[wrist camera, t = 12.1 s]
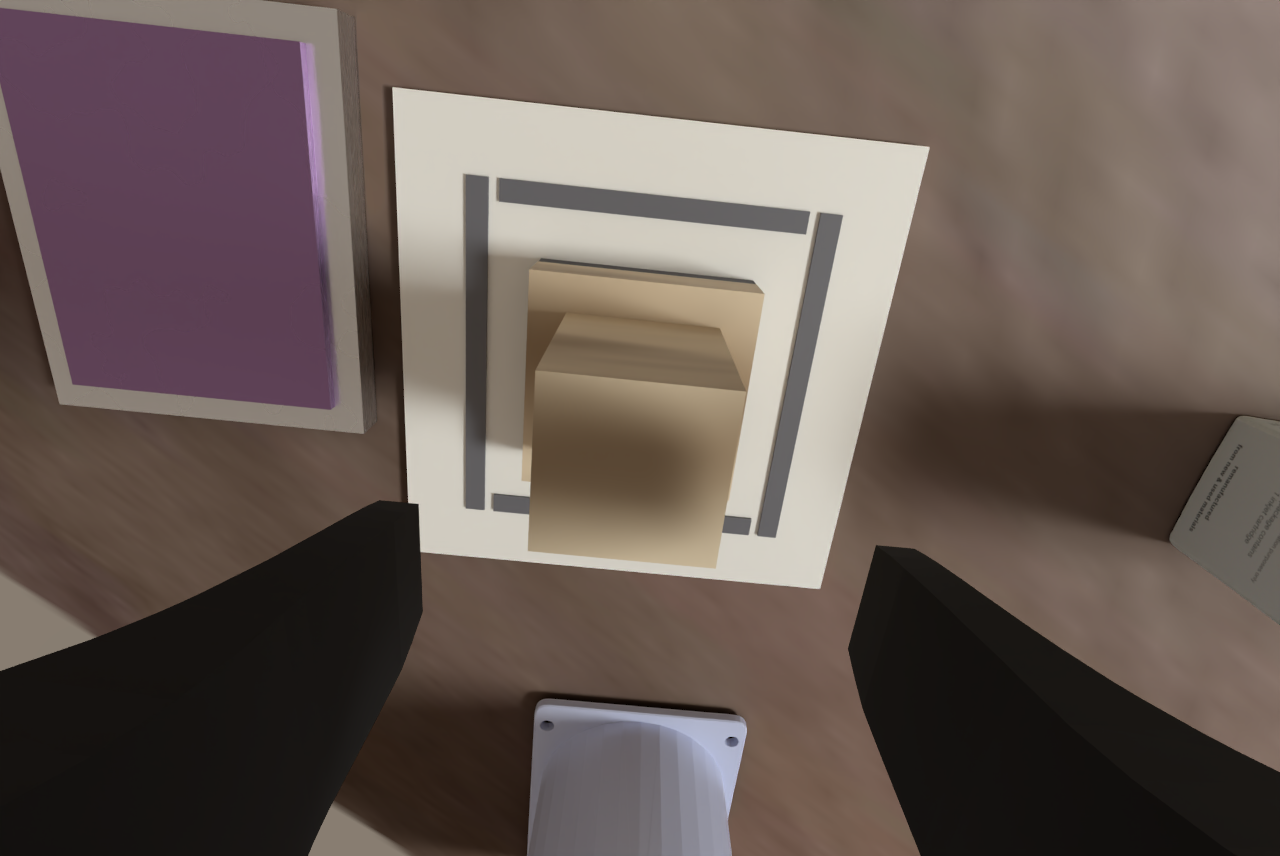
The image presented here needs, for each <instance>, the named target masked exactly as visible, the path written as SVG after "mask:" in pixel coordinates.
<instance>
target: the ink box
mask: <svg viewBox="0 0 1280 856" xmlns="http://www.w3.org/2000/svg"><path fill="white" fill-rule="evenodd" d="M1169 539H1170V542H1171V544H1172V545H1173V546H1174V547H1175V548H1177V549H1178V550H1179V551H1181V552H1182V553H1184V554H1185V555H1186V556H1188V557H1189V558H1190V559H1192V560H1193V561H1194V562H1196V563H1197V564H1198V565H1200V566H1201V567H1202V568H1204V569H1205V570H1206V571H1208V572H1209V573H1211V574H1212V575H1213V576H1215V577H1216V578H1217V579H1219V580H1220V581H1221V582H1223V583H1224V584H1226V585H1227V586H1228V587H1230V588H1231V589H1232V590H1234V591H1235V592H1236V593H1238V594H1239V595H1240V596H1242V597H1243V598H1244V599H1246V600H1247V601H1248V602H1250V603H1251V604H1252V605H1254V606H1255V607H1256V608H1258V609H1259V610H1260V611H1261V612H1263V613H1264V614H1265V615H1267V616H1268V617H1269V618H1271V619H1272V620H1273V621H1275V622H1276V623H1277V624H1279V625H1280V421H1274V420H1268V419H1262V418H1256V417H1250V416H1239V417H1237V418H1236V420H1235V422H1234V423H1233V425H1232V426H1231V428H1230V429H1229V431H1228V433H1227V434H1226V436H1225V438H1224V440H1223V441H1222V443H1221V444H1220V446H1219V448H1218V449H1217V451H1216V453H1215V454H1214V456H1213V458H1212V459H1211V461H1210V463H1209V465H1208V466H1207V468H1206V470H1205V472H1204V474H1203V475H1202V477H1201V479H1200V481H1199V483H1198V484H1197V486H1196V488H1195V489H1194V491H1193V493H1192V495H1191V496H1190V498H1189V500H1188V502H1187V504H1186V506H1185V508H1184V510H1183V511H1182V514H1181V516H1180V517H1179V519H1178V521H1177V523H1176V525H1175V527H1174V529H1173V531H1172V532H1171V534H1170V538H1169Z"/></svg>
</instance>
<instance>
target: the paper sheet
mask: <svg viewBox="0 0 1280 856" xmlns="http://www.w3.org/2000/svg"><path fill="white" fill-rule="evenodd" d="M392 90H393V116H394V142H395V168H396V195H397V221H398V247H399V274H400V300H401V326H402V353H403V379H404V405H405V432H406V458H407V484H408V503H414V504H419V527H420V552H427V553H438V554H449V555H460V556H470V557H481V558H492V559H503V560H513V561H524V562H535V563H546V564H556V565H567V566H578V567H589V568H599V569H610V570H621V571H632V572H642V573H653V574H664V575H675V576H685V577H696V578H707V579H718V580H728V581H739V582H750V583H761V584H771V585H782V586H793V587H804V588H814V589H820V587H821V583H822V579H823V575H824V571H825V567H826V563H827V559H828V555H829V551H830V547H831V543H832V539H833V535H834V531H835V527H836V523H837V519H838V515H839V510H840V506H841V502H842V498H843V494H844V490H845V486H846V482H847V478H848V474H849V470H850V466H851V462H852V458H853V454H854V450H855V446H856V442H857V438H858V434H859V430H860V426H861V422H862V418H863V414H864V410H865V406H866V402H867V398H868V394H869V390H870V386H871V382H872V377H873V373H874V369H875V365H876V361H877V357H878V353H879V349H880V345H881V341H882V337H883V333H884V329H885V325H886V321H887V317H888V313H889V309H890V305H891V301H892V297H893V293H894V289H895V285H896V281H897V277H898V273H899V269H900V265H901V261H902V257H903V253H904V248H905V244H906V240H907V236H908V232H909V228H910V224H911V220H912V216H913V212H914V208H915V204H916V200H917V196H918V192H919V188H920V184H921V180H922V176H923V172H924V168H925V164H926V160H927V156H928V152H929V148H930V147H925V146H916V145H907V144H898V143H889V142H880V141H871V140H862V139H853V138H844V137H835V136H826V135H817V134H808V133H799V132H790V131H781V130H772V129H763V128H754V127H745V126H736V125H727V124H718V123H709V122H700V121H691V120H682V119H673V118H664V117H655V116H646V115H637V114H628V113H619V112H610V111H601V110H592V109H584V108H575V107H566V106H557V105H548V104H539V103H530V102H521V101H512V100H503V99H494V98H485V97H476V96H467V95H458V94H449V93H440V92H431V91H422V90H413V89H404V88H395V87H392ZM541 258H544V259H554V260H563V261H573V262H582V263H592V264H601V265H611V266H620V267H630V268H639V269H649V270H659V271H668V272H678V273H687V274H697V275H706V276H716V277H725V278H735V279H744V280H753V281H754V282H755V283H756V284H757V285H758V287H759V288H760V289H761V290H762V291H763V293H764V294H765V295H764V301H763V307H762V313H761V318H760V324H759V330H758V336H757V341H756V347H755V353H754V359H753V364H752V370H751V376H750V382H749V387H748V393H747V399H746V405H745V411H744V416H743V422H742V428H741V434H740V439H739V445H738V451H737V457H736V462H735V468H734V474H733V480H732V485H731V491H730V497H729V501H727V506H726V512H725V518H724V524H723V529H722V535H721V541H720V547H719V553H718V558H717V564H716V569H714V568H703V567H692V566H682V565H671V564H660V563H650V562H639V561H628V560H617V559H607V558H596V557H585V556H575V555H564V554H553V553H543V552H532V551H528V531H529V507H530V483H531V482H528V481H522V453H523V425H524V398H525V370H526V343H527V315H528V288H529V269H530V268H531V267H532V266H533V265H534V264H535V263H537V262H538V261H539V260H540V259H541Z"/></svg>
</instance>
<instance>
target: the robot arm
mask: <svg viewBox="0 0 1280 856" xmlns="http://www.w3.org/2000/svg"><path fill="white" fill-rule="evenodd" d="M422 612H423V609H422V582H421V554H420V527H419V504H414V503H403V502H392V501H381V500H379V501H377V502H375V503H373V504H370V505H368V506H366V507H364V508H362V509H360V510H358V511H356V512H355V513H353V514H351V515H349V516H347V517H345V518H343V519H342V520H340V521H338V522H336V523H334V524H333V525H331V526H329V527H327V528H325V529H324V530H322V531H320V532H318V533H316V534H315V535H313V536H311V537H309V538H307V539H305V540H304V541H302V542H300V543H298V544H296V545H294V546H293V547H291V548H289V549H287V550H285V551H283V552H282V553H280V554H278V555H276V556H274V557H272V558H271V559H269V560H267V561H265V562H263V563H261V564H259V565H257V566H255V567H253V568H251V569H249V570H247V571H245V572H243V573H241V574H239V575H237V576H235V577H233V578H231V579H229V580H227V581H225V582H223V583H221V584H219V585H217V586H215V587H213V588H211V589H209V590H207V591H205V592H203V593H200V594H198V595H196V596H194V597H192V598H190V599H187V600H185V601H183V602H181V603H179V604H176V605H174V606H172V607H170V608H167V609H165V610H163V611H160V612H158V613H156V614H153V615H151V616H149V617H146V618H144V619H141V620H139V621H136V622H134V623H131V624H129V625H126V626H124V627H122V628H119V629H117V630H114V631H112V632H109V633H107V634H104V635H101V636H99V637H96V638H94V639H91V640H88V641H86V642H83V643H80V644H77V645H74V646H71V647H68V648H66V649H63V650H60V651H57V652H54V653H51V654H48V655H45V656H42V657H40V658H37V659H34V660H31V661H28V662H25V663H22V664H19V665H17V666H14V667H11V668H8V669H5V670H2V671H0V856H308V854H309V852H310V850H311V847H312V845H313V842H314V840H315V838H316V836H317V834H318V831H319V829H320V827H321V825H322V823H323V821H324V819H325V817H326V815H327V812H328V810H329V808H330V806H331V804H332V803H333V801H334V799H335V797H336V795H337V793H338V791H339V789H340V787H341V785H342V783H343V782H344V780H345V778H346V776H347V774H348V772H349V770H350V768H351V766H352V764H353V762H354V761H355V759H356V757H357V755H358V753H359V751H360V749H361V747H362V745H363V743H364V742H365V740H366V738H367V736H368V734H369V732H370V730H371V728H372V726H373V724H374V722H375V721H376V719H377V717H378V715H379V713H380V711H381V709H382V707H383V705H384V703H385V701H386V699H387V697H388V695H389V693H390V692H391V690H392V688H393V686H394V684H395V682H396V680H397V678H398V676H399V674H400V672H401V670H402V667H403V665H404V662H405V659H406V657H407V654H408V651H409V649H410V646H411V644H412V641H413V638H414V635H415V632H416V629H417V626H418V624H419V621H420V618H421V615H422ZM848 651H849V655H850V660H851V664H852V668H853V673H854V677H855V681H856V685H857V689H858V693H859V696H860V700H861V704H862V708H863V711H864V713H865V716H866V719H867V721H868V724H869V727H870V729H871V732H872V734H873V737H874V739H875V742H876V745H877V747H878V750H879V752H880V755H881V757H882V760H883V762H884V765H885V767H886V770H887V772H888V775H889V777H890V780H891V782H892V785H893V787H894V790H895V792H896V795H897V797H898V800H899V802H900V805H901V807H902V810H903V812H904V815H905V817H906V820H907V822H908V825H909V827H910V830H911V832H912V835H913V837H914V840H915V842H916V845H917V847H918V850H919V852H920V855H921V856H1280V772H1278V771H1276V770H1274V769H1272V768H1270V767H1268V766H1266V765H1264V764H1262V763H1260V762H1258V761H1256V760H1254V759H1252V758H1250V757H1248V756H1246V755H1244V754H1242V753H1240V752H1238V751H1236V750H1234V749H1232V748H1230V747H1228V746H1226V745H1224V744H1222V743H1221V742H1219V741H1217V740H1215V739H1213V738H1211V737H1209V736H1207V735H1205V734H1203V733H1202V732H1200V731H1198V730H1196V729H1194V728H1192V727H1191V726H1189V725H1187V724H1185V723H1184V722H1182V721H1180V720H1178V719H1177V718H1175V717H1173V716H1171V715H1169V714H1168V713H1166V712H1164V711H1162V710H1161V709H1159V708H1157V707H1155V706H1153V705H1152V704H1150V703H1148V702H1146V701H1145V700H1143V699H1141V698H1139V697H1138V696H1136V695H1134V694H1133V693H1131V692H1129V691H1128V690H1126V689H1124V688H1123V687H1121V686H1119V685H1118V684H1116V683H1114V682H1113V681H1111V680H1109V679H1108V678H1106V677H1105V676H1103V675H1102V674H1100V673H1098V672H1097V671H1095V670H1094V669H1092V668H1091V667H1089V666H1087V665H1086V664H1084V663H1083V662H1081V661H1080V660H1078V659H1077V658H1075V657H1073V656H1072V655H1070V654H1069V653H1067V652H1066V651H1064V650H1062V649H1061V648H1060V647H1058V646H1057V645H1055V644H1054V643H1052V642H1051V641H1049V640H1048V639H1046V638H1045V637H1043V636H1042V635H1040V634H1039V633H1037V632H1036V631H1034V630H1033V629H1031V628H1030V627H1029V626H1027V625H1026V624H1024V623H1023V622H1021V621H1020V620H1018V619H1017V618H1016V617H1014V616H1013V615H1011V614H1010V613H1008V612H1007V611H1006V610H1004V609H1003V608H1001V607H1000V606H999V605H997V604H996V603H994V602H993V601H991V600H990V599H989V598H987V597H986V596H984V595H983V594H982V593H980V592H979V591H977V590H976V589H975V588H973V587H972V586H970V585H969V584H968V583H966V582H965V581H963V580H962V579H960V578H959V577H958V576H956V575H955V574H953V573H952V572H950V571H949V570H947V569H946V568H945V567H943V566H942V565H940V564H939V563H937V562H936V561H934V560H932V559H931V558H929V557H928V556H926V555H924V554H923V553H921V552H919V551H917V550H916V549H911V548H900V547H889V546H878V545H876V548H875V551H874V555H873V559H872V562H871V566H870V570H869V573H868V577H867V581H866V584H865V588H864V592H863V596H862V599H861V603H860V607H859V610H858V614H857V618H856V621H855V625H854V629H853V632H852V636H851V640H850V643H849V647H848ZM544 721H551V723H547V722H544ZM746 734H747V727H746V722H745V720H744V719H743V718H742V717H741V716H738V715H732V714H721V713H710V712H698V711H687V710H675V709H664V708H653V707H641V706H630V705H618V704H607V703H596V702H584V701H573V700H561V699H550V698H549V699H543V700H540V701H539V702H538V703H537V705H536V709H535V713H534V732H533V751H532V770H531V789H530V808H529V827H528V846H527V856H732V852H731V844H730V835H729V827H728V816H729V811H730V807H731V802H732V798H733V793H734V788H735V784H736V779H737V775H738V770H739V766H740V761H741V756H742V752H743V747H744V743H745V738H746ZM728 737H734V738H730V739H729V738H728Z"/></svg>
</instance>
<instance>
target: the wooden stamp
mask: <svg viewBox="0 0 1280 856" xmlns="http://www.w3.org/2000/svg"><path fill="white" fill-rule="evenodd" d="M764 295H765V294H764V293H763V291H762V290H761V289H760V288H759V287H758V285H757V284H756V283H755V282H754V281H753V280H744V279H735V278H725V277H716V276H706V275H697V274H687V273H678V272H668V271H659V270H649V269H639V268H630V267H620V266H611V265H601V264H592V263H582V262H573V261H563V260H554V259H544V258H541V259H540V260H539V261H538V262H537V263H535V264H534V265H533V266H532V267H531V268H530V269H529V288H528V315H527V343H526V370H525V398H524V425H523V453H522V481H528V482H531V483H530V507H529V531H528V551H532V552H543V553H553V554H564V555H575V556H585V557H596V558H607V559H617V560H628V561H639V562H650V563H660V564H671V565H682V566H692V567H703V568H714V569H716V564H717V558H718V553H719V547H720V541H721V535H722V529H723V524H724V518H725V512H726V506H727V501H729V497H730V491H731V485H732V480H733V474H734V468H735V462H736V457H737V451H738V445H739V439H740V434H741V428H742V422H743V416H744V411H745V405H746V399H747V393H748V387H749V382H750V376H751V370H752V364H753V359H754V353H755V347H756V341H757V336H758V330H759V324H760V318H761V313H762V307H763V301H764Z"/></svg>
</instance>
